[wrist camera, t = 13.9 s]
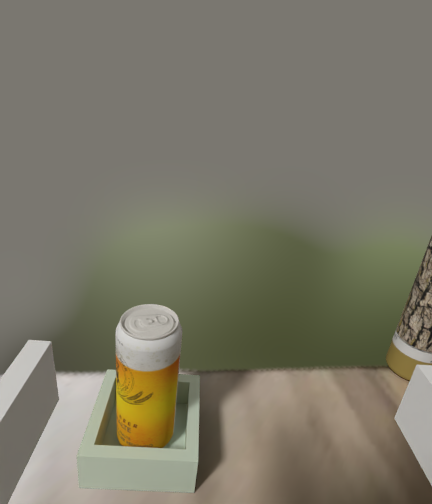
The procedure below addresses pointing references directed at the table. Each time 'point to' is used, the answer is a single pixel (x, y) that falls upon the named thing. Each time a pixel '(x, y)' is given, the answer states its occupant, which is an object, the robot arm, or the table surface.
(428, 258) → the paper tube
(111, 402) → the socket
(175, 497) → the table surface
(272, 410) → the table surface
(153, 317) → the beer can
